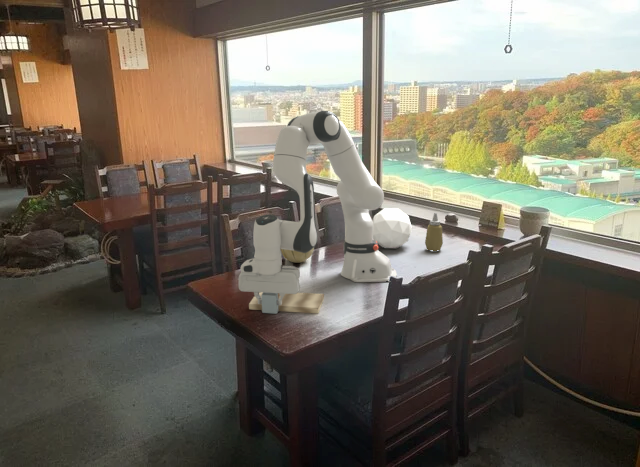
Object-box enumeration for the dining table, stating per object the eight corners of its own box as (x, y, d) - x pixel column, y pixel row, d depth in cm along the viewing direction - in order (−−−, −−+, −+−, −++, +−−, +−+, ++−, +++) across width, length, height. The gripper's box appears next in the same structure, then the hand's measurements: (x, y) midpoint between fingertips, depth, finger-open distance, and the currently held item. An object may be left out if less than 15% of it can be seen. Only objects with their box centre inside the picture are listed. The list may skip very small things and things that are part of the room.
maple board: (323, 299, 172) (323, 293, 171) (318, 313, 160) (318, 307, 160) (259, 295, 176) (258, 290, 175) (249, 309, 164) (248, 303, 164)
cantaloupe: (318, 265, 207) (317, 231, 203) (284, 268, 203) (283, 234, 199) (308, 255, 220) (308, 223, 216) (277, 258, 216) (276, 226, 212)
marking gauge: (286, 297, 173) (285, 280, 171) (276, 313, 160) (276, 295, 158) (272, 296, 174) (272, 280, 172) (262, 312, 161) (261, 295, 159)
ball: (384, 257, 238) (384, 220, 245) (420, 250, 225) (419, 211, 232) (361, 246, 224) (362, 207, 232) (398, 237, 212) (397, 196, 219)
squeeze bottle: (444, 249, 226) (447, 212, 221) (438, 254, 219) (441, 215, 215) (428, 247, 230) (430, 210, 225) (422, 251, 224) (423, 213, 219)
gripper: (301, 263, 158) (302, 301, 162) (241, 260, 161) (243, 298, 165) (297, 269, 152) (298, 309, 156) (235, 266, 155) (238, 306, 159)
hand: (270, 304), depth 161 cm, fingers closed on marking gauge, 5 cm apart
